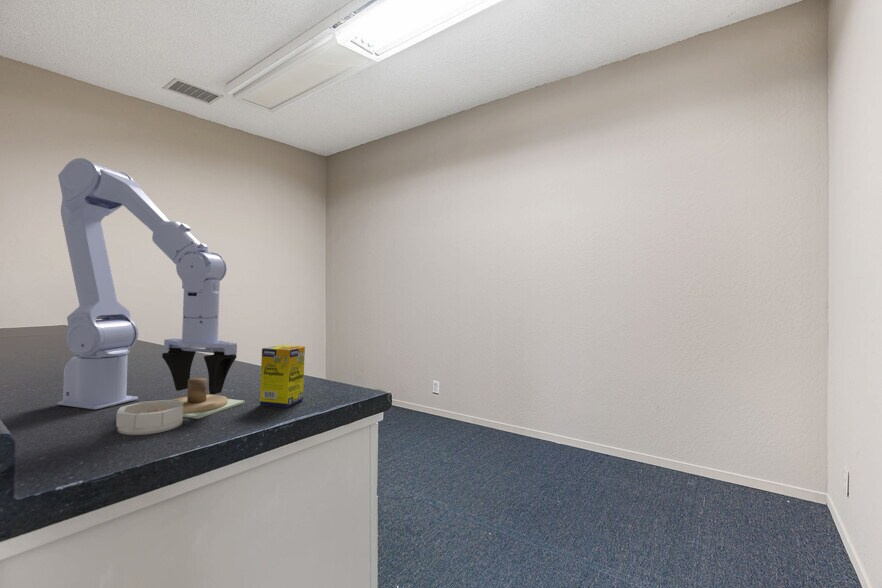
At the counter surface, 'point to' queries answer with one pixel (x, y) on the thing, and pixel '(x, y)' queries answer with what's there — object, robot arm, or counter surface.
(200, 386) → the lid
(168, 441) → the counter surface
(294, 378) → the supplement box
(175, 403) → the bowl
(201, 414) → the mat
